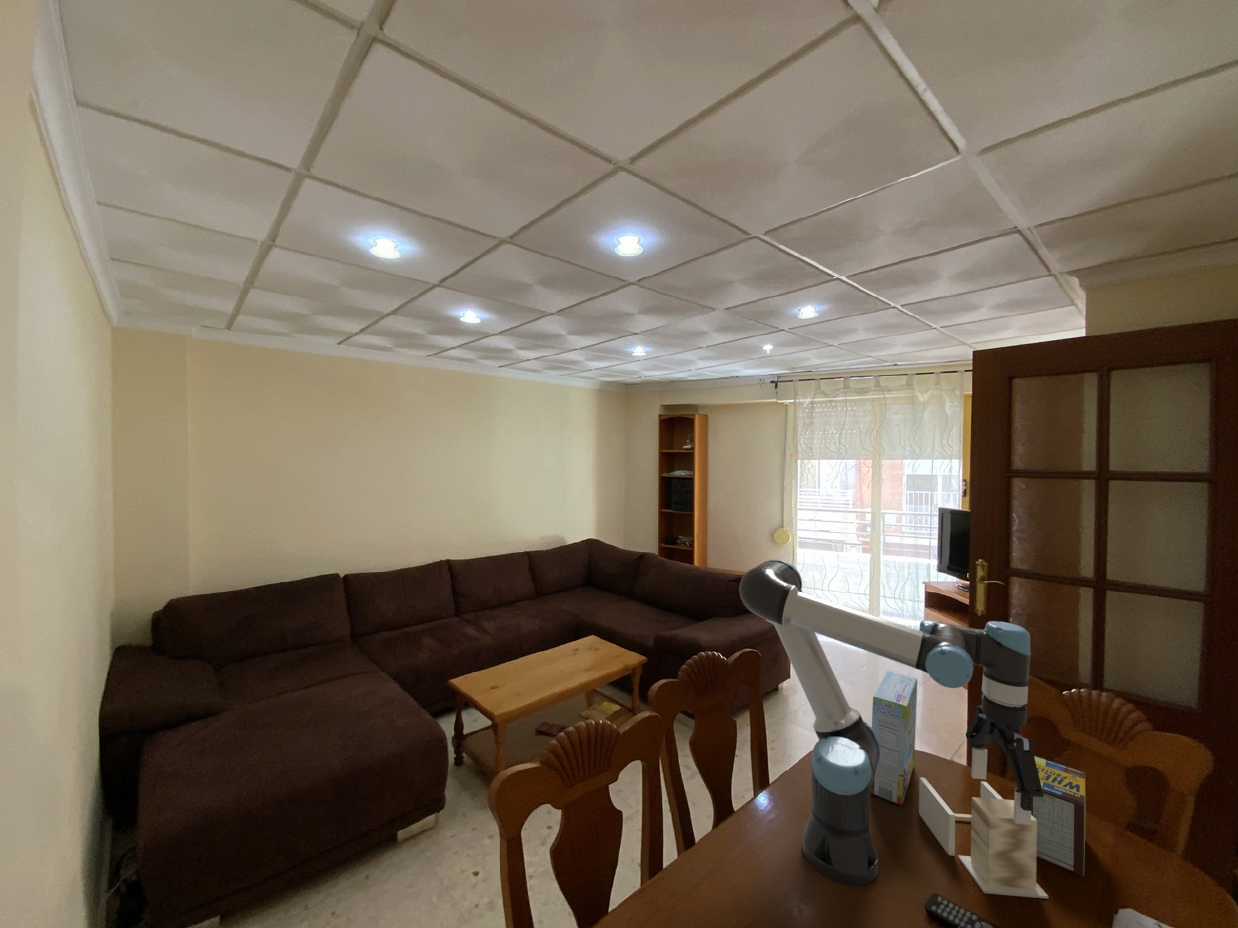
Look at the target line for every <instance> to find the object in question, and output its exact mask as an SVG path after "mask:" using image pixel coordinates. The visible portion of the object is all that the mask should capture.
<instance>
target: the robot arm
mask: <svg viewBox="0 0 1238 928" xmlns="http://www.w3.org/2000/svg"><path fill="white" fill-rule="evenodd" d="M802 587H803V580H802V577H801V574H800V573H799V570H798V569H797V568H796V567H795V566H794V565H793V564H792V563H789V562H788V561H786V560H782V559H770V560H767V561H766V560H765V561H764V562H762V563H760V564H758V565H756V566H755V567H753V568H751V569H749V570H748V571H747V572H745V574H743V576H742V578H741V580H740V583H739V588H738V589H739V590H738V591H739V596H740V600H741V602H742V604H743V605H744V606H745V607H746V609H748V611H750V612H751V613H753V614H754V615H756V616H758V617H760V618H761V619H763V620H765V621H766V622H768V623H771V624H772V625H773V626H774V627H775V630H776V632H777V635H778V636H779V639H780V641H781V644H782V646H783V648H784V650H785V653H786V655H787V657H788V659H789V661H790V663H791V665H792V668H793V669H794V672H795V675H796V676H797V679H798V681H799V683H800V686H801V688H802V690H803V692H804V695H805V697H806V699H807V701H808V703H809V706H810V707H811V710H812V712H813V715H814V716H815V720H814V722H813V726H812V728H813V730H814V732H815V734H816V736H817V738H818V741H816V743H815V745H814V746H813V749H812V754H811V757H810V759H811V760H810V763H811V813H810V815H809V818H808V820H807V823H806V825H805V828H804V831H803V835H802V851H803V854H804V856H805V858H806V860H807V861H808V863H809V864H810V865H811V866H812V867H813V869H815V870H816V871H818V872H819V873H821V874H822V875H823V876H825V877H827V878H828V879H831V880H833V881H835V882H837V883H842V884H844V885H849V886H861V885H866V884H869V883H871V882H872V881H873V880H875V879H876V877H877V876H878V872H879V855H878V852H877V849H876V845H875V842H874V839H873V835H872V833H871V830H870V817H871V816H870V813H871V812H870V811H871V805H870V804H871V793H870V792H871V787H872V783H873V779H874V776H875V772H876V768H877V765H878V762H879V758H880V748H879V741H878V738H877V736H876V734H875V732H874V731H873V729H872V726H871V725H870V724H869V723H867V722H866V721H864V720H863V717H862V715H861V713H860V712H859V710H857V709H856V708H853V707H851V705H849V702H848V701H847V698H846V697H845V694H844V692H843V690H842V688H841V686H840V684H839V682H838V679H837V676H836V675H835V673H834V670H833V669H832V667H831V664H830V662H829V659H828V658H827V655H826V653H825V652H824V650H823V647H822V645H821V643H820V640H819V638H818V636H817V634H818V635H821V636H824V637H827V638H829V639H832V640H835V641H837V642H841V643H843V644H847V645H849V646H852V647H854V648H857V649H860V650H862V651H866V652H867V653H868V652H869V653H872V654H874V655H877V656H878V657H883V658H886V659H888V660H891V661H894V662H896V663H899V664H902V665H905V666H908V667H910V668H912V669H915V670H919V671H921V672H923V673H927V674H928V675H929V677H930V678H931V679H932V680H933V681H935V682H936V683H937V684H938V685H940V686H942V687H944V688H948V689H958V688H962V687H963V686H966V685H967V684H968V683H969V682H970V681H971V679H972V677H973V672H974V668H975V667H974V666H978V667H979V666H980V667H983V670H982V671H983V672H982V683H981V684H982V685H981V692H982V694H981V704H980V705H976V708H975V713H974V714H975V715H974V716H973V718H972V721H971V723H970V724H969V727H968V729H967V731H966V732H965V737H966V739H967V740H969V741H970V745H971V747H972V749H971V770H970V771H971V772H970V777H971V778H972V779H977V780H987V771H988V769H987V768H988V750H987V748H989V746H988V744H990V743H991V742H992V741H995V742H997V744H998V745H999V746H1000V747H1001V750H1002V752H1003V753H1004V754H1005V755H1006V757H1007V760H1008V763H1009V765H1010V768H1011V770H1012V774H1013V777H1014V780H1015V782H1016V785H1017V787H1018V788H1017V787H1016V788H1014V795H1013V797H1014V799H1013V800H1014V814H1013V821H1014V822H1015V823H1017V824H1027V825H1031V811H1032V809H1033V797H1043V796H1044V795H1043V791H1042V787H1041V782H1040V778H1039V774H1038V770H1037V766H1036V762H1035V758H1034V756H1035V755H1034V742H1033V739H1031V738H1026V737H1024V736H1022V733H1021V727H1022V726H1025V725H1026V724H1027V719H1028V707H1027V705H1026V704H1028V694H1029V692H1028V691H1029V680H1030V679H1029V678H1030V665H1031V655H1032V653H1031V633H1030V632H1029V631H1028V630H1027V629H1026V628H1024V627H1022V626H1020V625H1018V624H1014V623H1011V622H1005V621H995V620H991V621H987V622H986V624H985V627H984V629H982V628H980V629H979V628H973V627H967V626H962V625H958V624H952V623H947V622H942V621H939V620H935V621H934V620H928V619H924V620H921V621H920V623H919V630H918V629H915V628H912V627H910V626H906V625H903V624H901V623H897V622H893V621H891V620H888V619H885V618H882V617H878V616H876V615H873V614H869V613H867V612H864V611H860V610H858V609H854V608H850V607H848V606H845V605H842V604H839V603H835V602H831V600H830V601H829V600H826V599H823V598H820V597H818V596H817V597H816V596H814V595H811V594H807V593H804V592H803V590H802V589H803V588H802ZM1014 747H1015V748H1014ZM1023 784H1024V785H1023Z"/></svg>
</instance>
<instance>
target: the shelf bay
mask: <svg viewBox="0 0 1238 928" xmlns="http://www.w3.org/2000/svg"><path fill="white" fill-rule="evenodd" d="M918 778H919V779H918V780H919V781H918V782H919V783H918V784H919V785H918V786H919V790H918V791H919V792H918V795H919V796H918V800H919V801H918V814H919V816H920V817H921V818H922V820H923V821H924V822H925V824H926V825H927V827H928V828H929V830H930V831H931V833H932V834H933V836H934V837H935V838H936V840H937V841H938V843H939V844H940V845H941V846H942V848H943V849H944V851H945V852H946V853H947V855H948V856H952V857H953V856H954V857H955V850H956V849H955V843H956V840H955V838H956V834H955V833H956V822H957V821H959V822H969V823H971V814H966V813H954V812H953V811H952V809H951V808H950V807H949V805H947V803H946V802H945V801H944V800H943V798H942V797H941V795H939V793H938V792H937V791H936V790H935V789H934V787H933V786H932V784H930V783H929V781H928V780H927V779H926V777H918ZM979 798H990V799H1004V798H1003V797H1002V796H1001V795H1000V794H999V793H998V791H996V790H995V789H994V788H993V787H991V785H990V784H989V783H988V782H987V781H980V797H979Z"/></svg>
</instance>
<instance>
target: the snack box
mask: <svg viewBox="0 0 1238 928" xmlns="http://www.w3.org/2000/svg"><path fill="white" fill-rule="evenodd" d="M917 699H918V679H917V678H915V677H913V676H909V675H905V674H901V673H897V672H892V671H889V670H888V671H886V673H885V674H884V676H883V678H882V680H881V683H880V684H879V685H878V688H877V689H876V691H875V693H874V695H873V697H872V711H871V712H872V713H871V714H872V715H871V728H872V729H873V731H874V732H875V734H876V736H877V738H878V741H879V748H880V758H879V762H878V765H877V768H876V772H875V776H874V779H873V783H872V787H871V792H870V795H871V794H872V795H874V796H878V797H880V798H882V799H884V800H887V801H889V802H892V803H894V804H897V805H899V806H903V804H904V800H905V797H906V795H907V790H908V787H909V784H910V781H911V776H912V773H913V770H914V768H915V767H914V766H915V756H916V755H915V754H916V753H915V750H916V730H917V729H916V726H917V725H916V724H917V704H918V703H917Z"/></svg>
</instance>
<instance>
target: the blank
mask: <svg viewBox="0 0 1238 928" xmlns="http://www.w3.org/2000/svg"><path fill="white" fill-rule="evenodd" d="M1013 814H1014V799H1005V798H1003V799H990V798H980V797H977V796H976V797H975V796H972V797H971V814H970V815H971V822H970V825H971V827H970V856H971V863H972V864H973V865H974V867H975V868H976V869H977V871H978V872H979V873H980V875H981V876H982V877H983V879H984V880H985V881H986V883H987V884H988V885H993V886H1004V887H1015V888H1026V889H1036V883H1037V860H1038V859H1037V858H1038V857H1037V820H1036V819H1035V818H1034V817H1033V816H1032V815H1031V825H1027V824H1017V823H1015V822H1014V821H1013Z"/></svg>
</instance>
